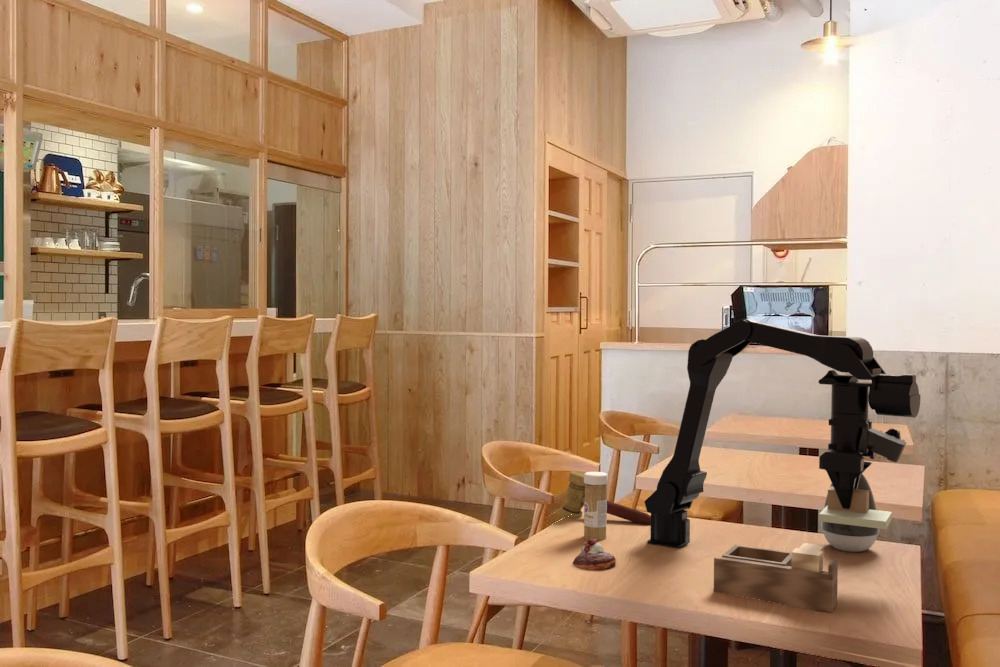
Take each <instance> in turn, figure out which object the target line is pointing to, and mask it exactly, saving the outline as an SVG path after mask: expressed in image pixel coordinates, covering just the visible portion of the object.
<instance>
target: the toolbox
mask: <svg viewBox="0 0 1000 667" xmlns="http://www.w3.org/2000/svg"><path fill="white" fill-rule="evenodd" d="M791 559H792V551H785V550H779V549H771V548H762V547H755V546H750V545H749V546H748V545H740V544H734V545H733V546H732V547H731V548H729V549H728V550H727V551H726V552H725V553H723V554H722V555H721V557H714V558H713V592H714V593H719V592H720V594H724V593H726V594H725V595H730V594H731V595H730V596H735V595H737V596H736V597H740V596H743V597H742V598H746V597H748V598H747V599H751V598H755V599H754V600H757V599H760V600H759V601H762V600H764V601H763V602H767V601H770V602H769V603H773V602H775V603H774V604H778V603H781V604H780V605H784V604H786V605H785V606H789V605H792V606H791V607H794V606H797V607H796V608H800V607H802V608H801V609H805V608H807V610H813V611H818V612H826V613H830V614H832V613H834V611H835V609H836V608H837V605H838V571H839V570H838V569H839V568H838V566H839V565H838V564H839V562H838V561H839V560H838V559H839V558H835V557H834V558H832V560H831V561H830V562H829V563H828V569H827V571H825V570H822V571H821V573H820V572H813V571H806V570H799V569H792V568H791Z"/></svg>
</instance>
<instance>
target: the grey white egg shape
mask: <svg viewBox="0 0 1000 667" xmlns="http://www.w3.org/2000/svg"><path fill="white" fill-rule="evenodd" d="M830 487H833V484H832V482H831V483H830V486H829V488H830ZM857 489H861V490H869V509H870V510H878V509H877V506H876V505H877V504H876V501H875V497H874V495H873V491H872V488H871V486H870V484H869V482H868V480H867V478H866V477H865V475H864V474H863V473H862V474H861V476H860V480H859V484H858V488H857ZM824 500H825V501H824V504H823V509H824V508H825V507H826V506H827V505H828V493H827V494H826V498H825V499H824ZM823 509H822V510H823ZM820 524H821V525H820V527H821V530H822V531H823V535H824V538H825V540H826V541H827V543H828V544H830V545H831V547H833V548H835V549H836V550H839V551H843V552H847V553H848V552H849V553H861V552H864V551H867V550H869V549H870V548H871V547H872V546H873V545H874V544H875V542H876V540H877V537H878V534H880V529H879V528H871V527H863V526H854V525H846V524H838V523H830V522H821V521H820Z"/></svg>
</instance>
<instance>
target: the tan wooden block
mask: <svg viewBox="0 0 1000 667" xmlns="http://www.w3.org/2000/svg"><path fill="white" fill-rule="evenodd" d="M791 552H792V559H791V568H792V569H799V570H806V571H813V572H820V573H821V571H824V570H823V568H824V555H825V545H823V544H816V543H815V544H814V543H807V542H804V543H802V545H801V546H800V547H795V548H794V549H793V550H792V551H791Z"/></svg>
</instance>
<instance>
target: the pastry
mask: <svg viewBox="0 0 1000 667" xmlns="http://www.w3.org/2000/svg"><path fill="white" fill-rule="evenodd" d="M582 543H583V544H582V547H581V548H580V553H578V554H577V555H576V556H575V558H574V560H573V562H572V564H573V565H574V566H576V567H577V568H580V569H583V570H588V571H589V570H590V571H606V570H611V569H614V568H615V567H616V562H617V559H616V557H615V556H614V555H613V554H612V553H610V552H608V551H607V552H606V551H605V549H604V548H603V546H602V544H601V543H599V542H598V540H597V539H590V540H589V539H588V541H584V542H582Z"/></svg>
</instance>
